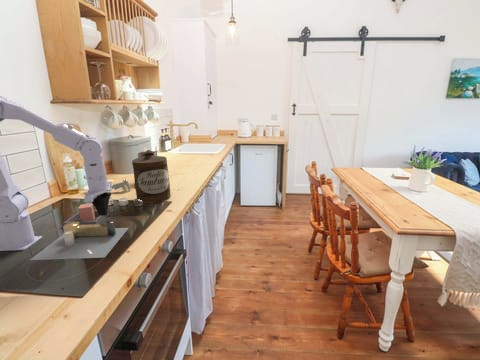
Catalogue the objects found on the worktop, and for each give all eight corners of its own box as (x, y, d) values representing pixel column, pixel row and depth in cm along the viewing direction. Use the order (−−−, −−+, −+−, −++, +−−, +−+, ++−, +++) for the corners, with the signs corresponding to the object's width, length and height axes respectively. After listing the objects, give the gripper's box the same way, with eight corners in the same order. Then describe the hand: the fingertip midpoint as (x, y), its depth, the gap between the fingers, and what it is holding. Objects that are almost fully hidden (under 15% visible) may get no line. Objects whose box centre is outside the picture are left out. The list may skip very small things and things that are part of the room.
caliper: (130, 190, 133) (128, 178, 131) (129, 191, 132) (128, 179, 130) (85, 194, 128) (83, 182, 126) (84, 195, 127) (82, 182, 125)
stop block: (81, 224, 94) (78, 208, 92) (83, 219, 97) (80, 204, 96) (93, 222, 95) (91, 206, 93) (95, 218, 99) (92, 203, 97)
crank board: (30, 263, 72) (26, 247, 70) (69, 232, 89) (66, 219, 87) (105, 260, 72) (102, 244, 71) (129, 230, 89) (127, 217, 88)
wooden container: (141, 206, 111) (134, 154, 105) (133, 196, 123) (127, 149, 117) (175, 198, 119) (170, 150, 113) (164, 190, 131) (160, 146, 125)
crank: (62, 239, 82) (59, 226, 80) (70, 232, 86) (67, 220, 85) (112, 237, 82) (110, 225, 81) (118, 231, 86) (116, 219, 85)
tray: (64, 229, 91) (63, 222, 90) (81, 216, 102) (80, 210, 101) (96, 228, 91) (95, 221, 91) (110, 215, 102) (109, 209, 101)
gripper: (98, 182, 79) (105, 223, 82) (118, 170, 92) (123, 206, 96) (74, 182, 78) (82, 224, 82) (97, 170, 92) (104, 207, 96)
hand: (103, 214), depth 89 cm, fingers closed
